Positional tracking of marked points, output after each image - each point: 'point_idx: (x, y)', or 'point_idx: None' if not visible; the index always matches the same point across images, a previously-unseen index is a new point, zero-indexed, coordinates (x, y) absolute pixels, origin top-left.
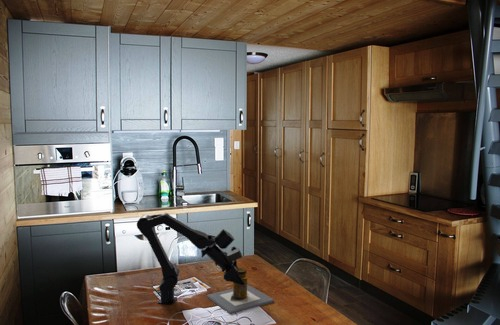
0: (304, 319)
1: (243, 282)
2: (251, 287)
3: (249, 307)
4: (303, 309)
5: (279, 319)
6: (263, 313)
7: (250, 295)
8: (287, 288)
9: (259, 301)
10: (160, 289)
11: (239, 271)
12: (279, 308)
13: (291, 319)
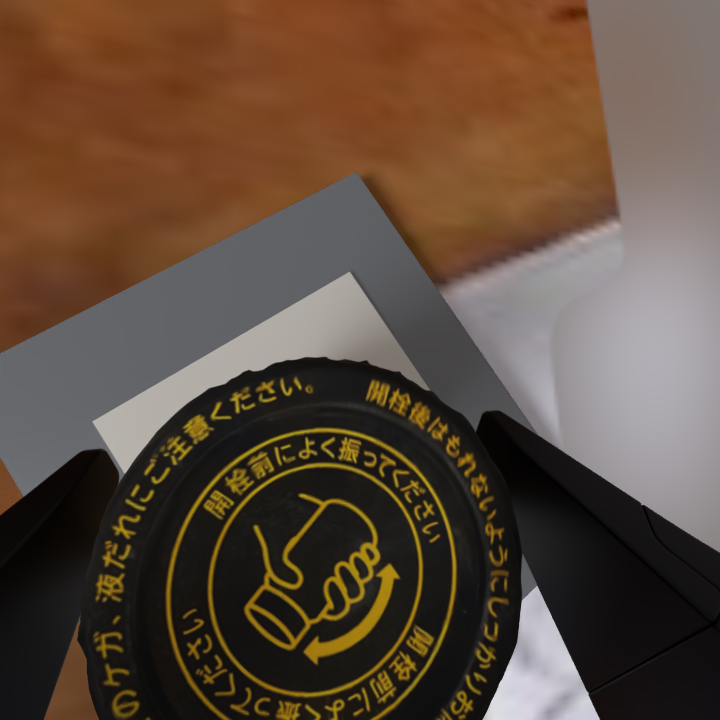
0: (585, 59)
1: (524, 429)
2: (49, 344)
3: (488, 371)
4: (461, 28)
5: (604, 190)
6: (541, 277)
7: (279, 358)
8: (68, 33)
9: (397, 286)
10: None
11: (438, 603)
12: (458, 164)
13: (595, 125)
